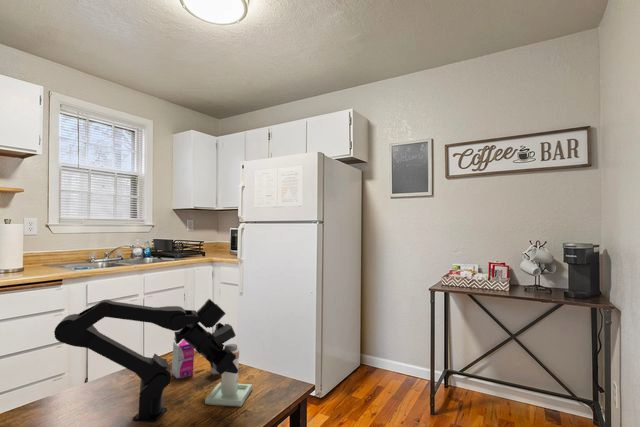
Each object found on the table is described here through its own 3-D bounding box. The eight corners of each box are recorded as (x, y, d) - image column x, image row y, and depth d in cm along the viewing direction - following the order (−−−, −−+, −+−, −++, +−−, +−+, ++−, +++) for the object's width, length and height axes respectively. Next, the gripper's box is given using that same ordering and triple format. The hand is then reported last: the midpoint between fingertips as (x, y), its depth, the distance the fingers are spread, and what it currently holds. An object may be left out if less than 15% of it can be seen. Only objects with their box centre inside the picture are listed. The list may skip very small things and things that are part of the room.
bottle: (235, 395, 105) (237, 349, 106) (218, 395, 105) (220, 348, 106) (239, 388, 110) (241, 343, 111) (223, 387, 110) (225, 342, 111)
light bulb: (220, 377, 121) (220, 348, 121) (204, 377, 121) (205, 348, 121) (224, 371, 126) (225, 343, 127) (209, 370, 126) (210, 343, 127)
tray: (241, 406, 102) (241, 401, 102) (205, 404, 103) (205, 398, 103) (251, 389, 112) (252, 384, 113) (219, 387, 114) (219, 382, 114)
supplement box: (176, 380, 118) (177, 346, 119) (171, 374, 123) (172, 341, 124) (193, 375, 122) (194, 342, 123) (187, 370, 127) (189, 338, 127)
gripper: (230, 324, 99) (264, 356, 104) (210, 311, 114) (241, 339, 120) (201, 358, 94) (238, 389, 100) (184, 339, 109) (217, 367, 115)
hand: (234, 369), depth 109 cm, fingers closed on bottle, 5 cm apart
